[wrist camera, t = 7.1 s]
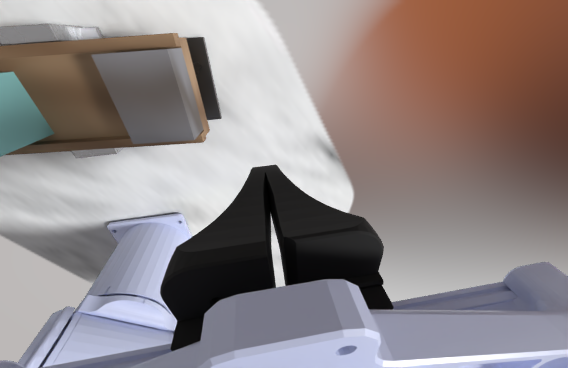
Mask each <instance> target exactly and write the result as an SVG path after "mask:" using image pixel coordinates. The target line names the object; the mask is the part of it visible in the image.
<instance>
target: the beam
mask: <svg viewBox="0 0 568 368" xmlns="http://www.w3.org/2000/svg"><path fill="white" fill-rule="evenodd" d="M0 72H14V73H15V75H16V76H17V78H18V79H19V81H20V82H21V84H22V85H23V87H24V88H25V90H26V91H27V93H28V94H29V96H30V97H31V99H32V100H33V102H34V103H35V105H36V106H37V108H38V109H39V111H40V113H41V114H42V116H43V117H44V119H45V120H46V122H47V123H48V125H49V126H50V128H51V129H52V131H53V132H54V134H52V135H50V136H48V137H45V138H43V139H41V140H38V141H36V142H34V143H31V144H29V145H27V146H24V147H22V148H20V149H17V150H15V151H13V152H10V153H8V154H6V155H14V154H29V153H45V152H61V151H76V150H92V149H108V148H123V147H139V146H155V145H170V144H186V143H202V142H204V141H205V139H206V135H207V133H208V132H209V131H210V129H209V126H208V122H207V118H206V114H205V110H204V106H203V102H202V98H201V94H200V90H199V86H198V83H197V79H196V75H195V71H194V67H193V63H192V59H191V55H190V51H189V47H188V43H187V40H186V38H179V37H178V33H169V34H155V35H142V36H128V37H115V38H101V39H88V40H74V41H61V42H47V43H34V44H20V45H7V46H0Z"/></svg>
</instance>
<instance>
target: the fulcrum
mask: <svg viewBox="0 0 568 368" xmlns="http://www.w3.org/2000/svg"><path fill="white" fill-rule="evenodd" d="M101 38H103V37H102V34H101V32H100V30H99V28H98V27H89V28H83V27H80V26H67V25H55V24H39V25H23V26H7V27H0V43H1V44H34V43H47V42H61V41H74V40H88V39H101ZM186 40H187V43H188V47H189V51H190V55H191V59H192V63H193V67H194V71H195V75H196V79H197V83H198V86H199V90H200V94H201V98H202V102H203V106H204V110H205V114H206V118H207V120H213V119H221V112H220V108H219V103H218V99H217V94H216V89H215V85H214V80H213V76H212V71H211V67H210V62H209V57H208V53H207V48H206V44H205V39H204V37H201V38H187V39H186ZM123 148H124V147H123ZM123 148H108V149H92V150H76V151H71V152H72V153H73V155H74V156H75V158H82V157H91V156H100V155H109V154H117V153H118V152H119V151H120V150H122V149H123Z"/></svg>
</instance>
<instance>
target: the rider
mask: <svg viewBox="0 0 568 368" xmlns="http://www.w3.org/2000/svg"><path fill="white" fill-rule="evenodd" d="M52 134H54V132H53V131H52V129H51V128H50V126H49V125H48V123H47V122H46V120H45V119H44V117H43V116H42V114H41V113H40V111H39V109H38V108H37V106H36V105H35V103H34V102H33V100H32V99H31V97H30V96H29V94H28V93H27V91H26V90H25V88H24V87H23V85H22V84H21V82H20V81H19V79H18V78H17V76H16V75H15V73H14V72H0V157H1V156H3V155H6V154H8V153H10V152H13V151H15V150H17V149H20V148H22V147H24V146H27V145H29V144H31V143H34V142H36V141H38V140H41V139H43V138H45V137H48V136H50V135H52Z"/></svg>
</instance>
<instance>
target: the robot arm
mask: <svg viewBox="0 0 568 368" xmlns="http://www.w3.org/2000/svg"><path fill="white" fill-rule="evenodd" d="M270 212H271V213H270ZM271 216H272V220H273V224H274V228H275V232H276V235H277V239H278V243H279V248H280V253H281V259H282V266H283V272H284V279H285V286H283V287H277V288H276V284H275V276H274V268H273V260H272V250H271ZM178 220H180V221H178ZM107 228H108V230H109V231H110V233H111V234H112V236H113V237H114V238H115V240H116V241H117V243H118V245H117V247H116V248H115V250H114V252H113V253H112V255H111V256H110V258H109V260H108V261H107V263H106V264H105V266H104V268H103V269H102V271H101V272H100V274H99V276H98V277H97V279H96V280H95V282H94V283H93V285H92V287H91V288H90V290H89V291H88V293H87V295H86V296H85V298H84V299H83V301H82V302H81V303H80V305H79V306H78V307H77V309H76V310H75V311H74V309H75V308H74V307H69V306H68V307H65V308H64V309H63V310H59V311H57V312H55V313H53V314H52V315H51V316H50V318H49V319H48V321H47V322H46V324H45V325H44V326H43V328H42V329H41V330H40V332H39V333H38V335H37V336H36V338H35V339H34V340H33V342H32V343H31V345H30V346H29V347H28V349H27V350H26V352H25V353H24V354H23V356H22V357H21V359H20V360H19V362H18V363H17V362H14V361H6V360H3V361H0V368H568V276H567V275H565V274H564V273H563V272H561V271H560V270H559V269H557V268H556V267H554V266H553V265H552V264H550V263H549V262H541V263H535V264H530V265H525V266H520V267H517V268H514V269H513V270H511V271H510V272H509V273H508V274H507V275H506V276H505V278H504V280H503V282H498V283H493V284H487V285H482V286H477V287H471V288H466V289H461V290H455V291H450V292H445V293H439V294H434V295H428V296H423V297H417V298H412V299H407V300H401V301H396V302H391V301H390V299H389V298H388V296H387V294H386V292H385V290H384V288H383V287H382V285H383V279H382V277H381V276H380V274H379V272H378V270H379V266H380V262H381V259H382V255H383V248H384V246H383V244H382V241H381V239H380V238H379V237H378V235H377V233H376V232H375V231H374V229H373V228H372V227H371V225H370V224H369V223H368V222H367V221H366V220H365V219H364V218H362V217H359V216H356V215H352V214H349V213H345V212H342V211H340V210H337V209H335V208H332V207H330V206H327V205H325V204H323V203H321V202H319V201H317V200H315V199H314V198H312V197H310V196H309V195H307V194H306V193H304V192H303V191H302V190H300V189H299V188H298V187H297V186H295V185H294V184H293V183H292V182H291V181H290V180H289V179H288V178H287V177H286V176H285V175H284V174H283V173H282V171H281V170H280V169H279V167H278V166H277V165H269V166H262V167H254V168H252V169H251V172H250V174H249V176H248V178H247V180H246V182H245V184H244V186H243V188H242V189H241V191H240V192H239V194H238V195H237V197H236V198H235V199H234V201H233V202H232V203H231V204H230V206H229V207H228V208H227V209H226V210H225V211H224V212H223V213H222V214H221V215H220V216H219V217H218V218H217V219H216V220H215V221H213V222H212V223H211V224H210V225H208V226H207V227H206V228H204V229H203V230H202V231H200V232H199V233H198V234H196V235H195V236H193V237H192V236H191V233H190V231H189V228H188V226H187V224H186V221H185V219H184V216H183V215H182V214H179V213H177V214H170V215H162V216H155V217H148V218H140V219H133V220H126V221H118V222H111V223H109V224H108V225H107ZM73 311H74V312H73Z"/></svg>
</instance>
